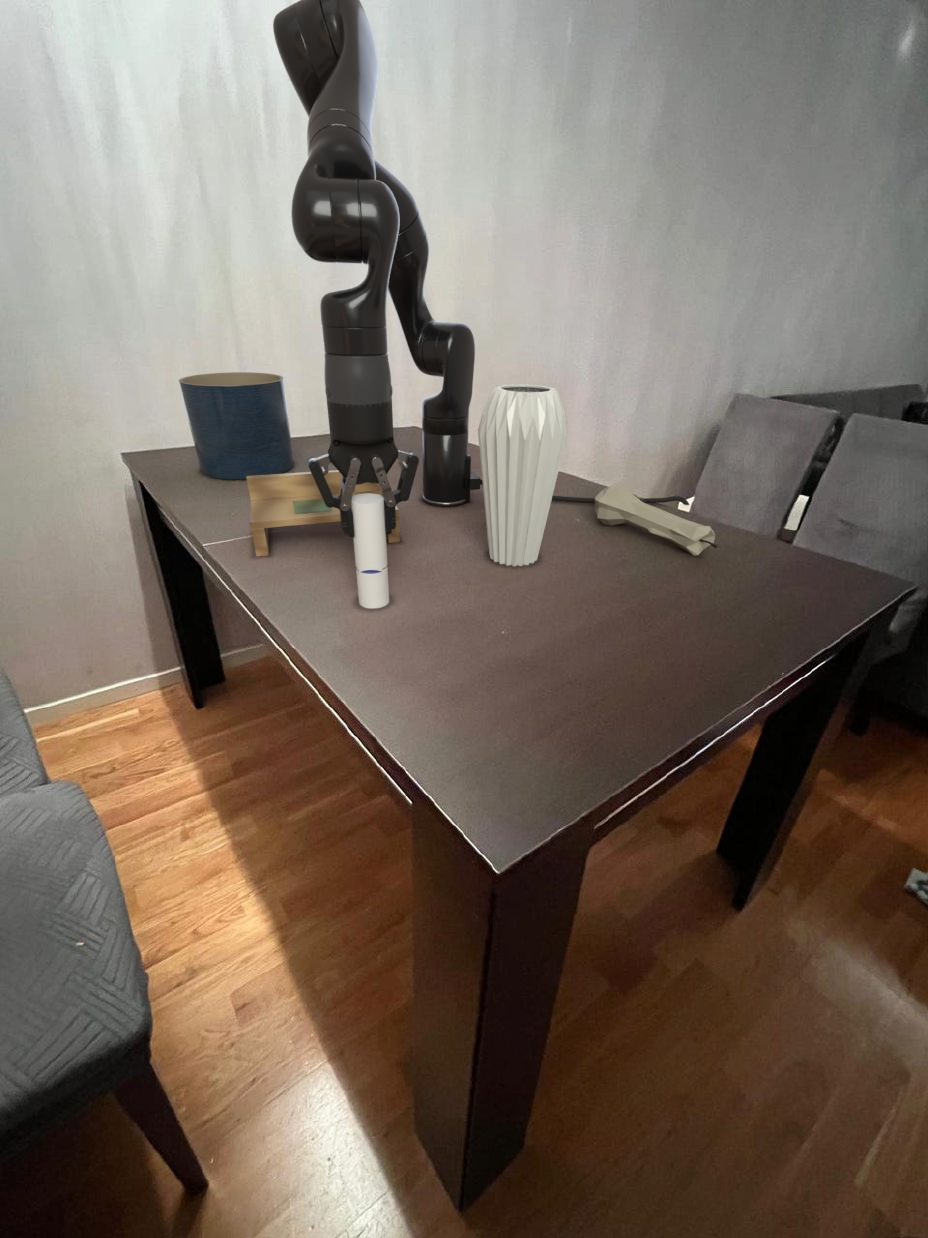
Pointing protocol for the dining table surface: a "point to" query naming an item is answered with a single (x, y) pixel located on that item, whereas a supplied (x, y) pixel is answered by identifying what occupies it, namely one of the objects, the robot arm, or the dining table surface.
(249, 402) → the planter
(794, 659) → the dining table surface
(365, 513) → the tube
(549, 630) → the dining table surface
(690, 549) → the faceted club
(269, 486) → the shelf
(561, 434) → the vase
